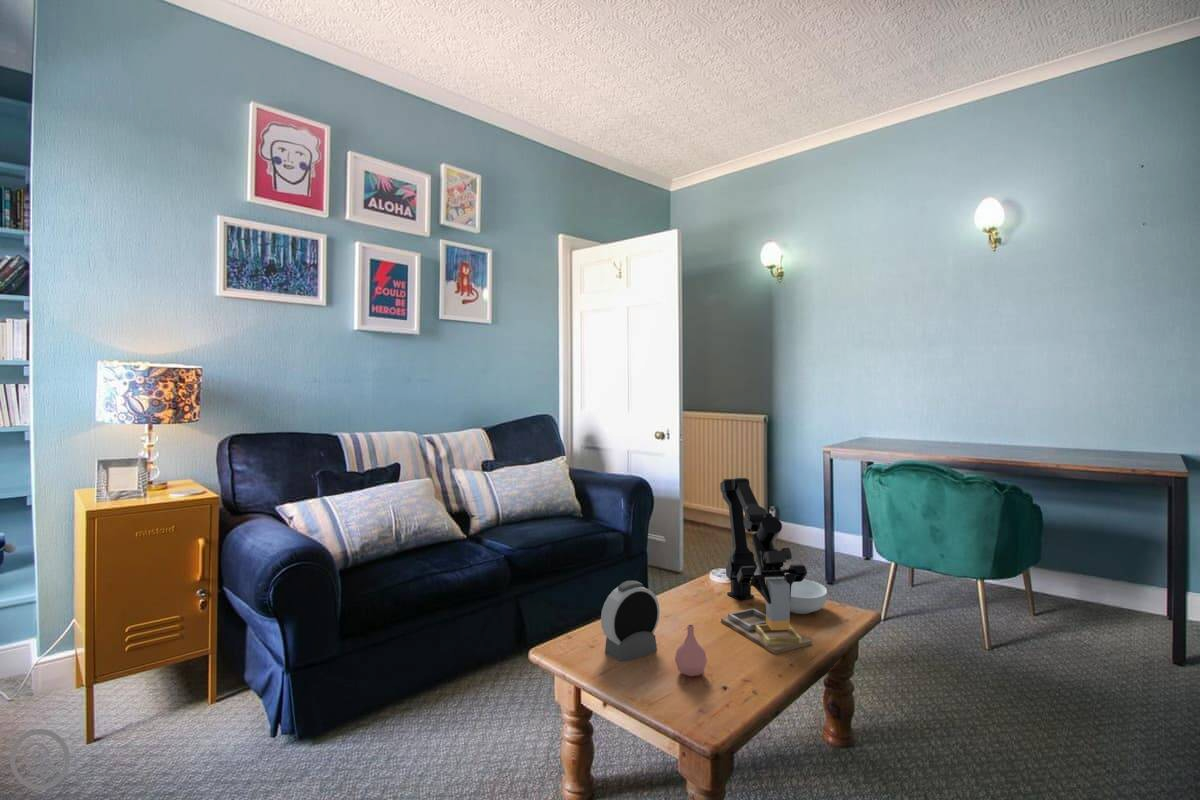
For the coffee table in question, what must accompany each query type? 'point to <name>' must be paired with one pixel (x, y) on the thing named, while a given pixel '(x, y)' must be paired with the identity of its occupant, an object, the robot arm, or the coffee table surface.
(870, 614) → the coffee table surface
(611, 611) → the alarm clock
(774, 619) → the grey square pillar
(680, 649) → the pink vase
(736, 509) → the robot arm
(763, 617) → the station board
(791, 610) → the cereal bowl
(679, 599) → the coffee table surface
